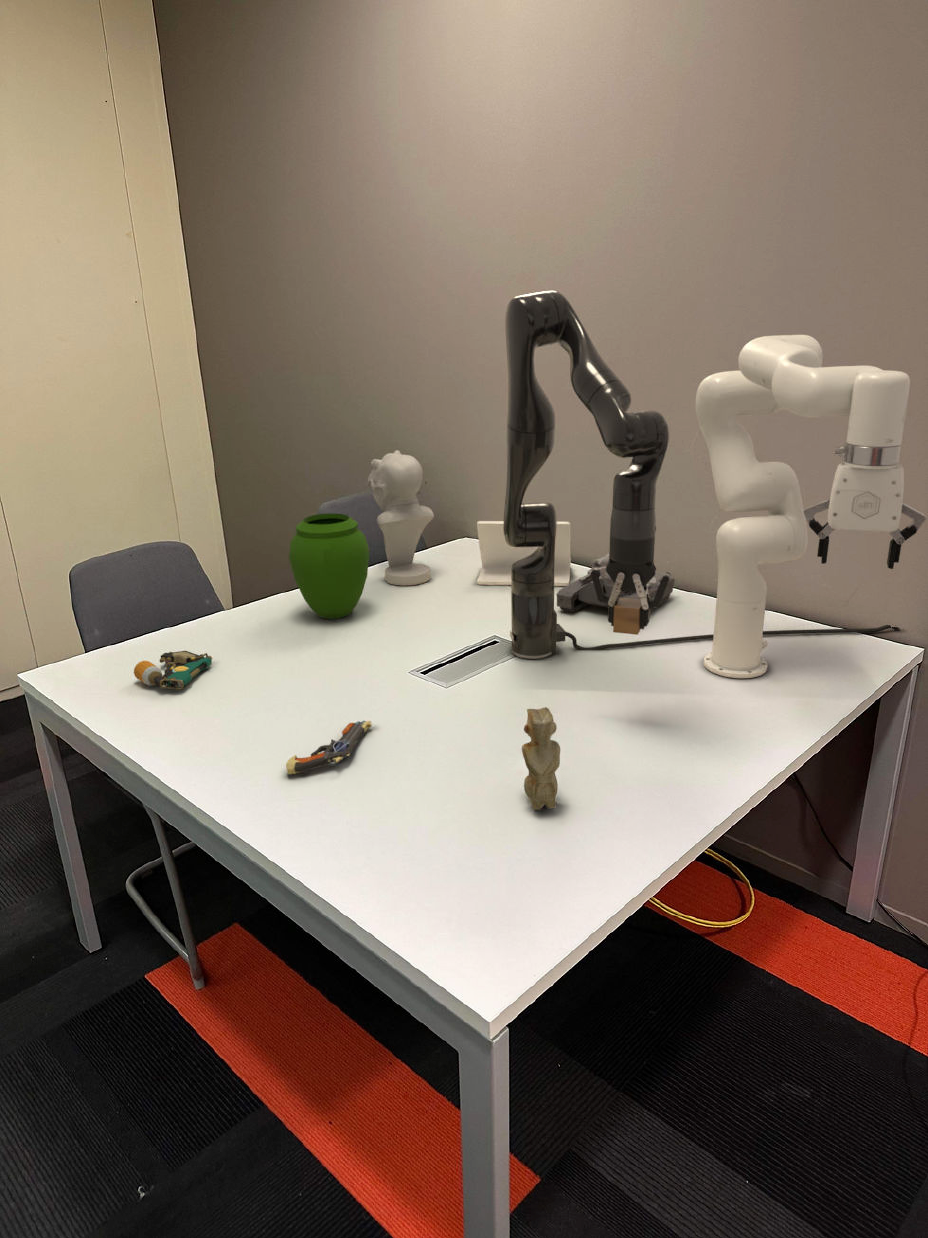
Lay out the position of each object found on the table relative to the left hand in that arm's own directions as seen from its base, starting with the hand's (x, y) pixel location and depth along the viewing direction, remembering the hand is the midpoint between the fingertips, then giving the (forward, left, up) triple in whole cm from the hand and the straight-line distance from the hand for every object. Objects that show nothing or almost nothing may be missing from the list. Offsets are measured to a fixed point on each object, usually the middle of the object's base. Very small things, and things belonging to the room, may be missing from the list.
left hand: (628, 625), depth 151 cm
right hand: (-31, +17, +14) cm, 38 cm away
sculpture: (+23, +23, -18) cm, 37 cm away
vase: (+49, -71, -18) cm, 88 cm away
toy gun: (+54, -1, -18) cm, 57 cm away
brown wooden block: (0, 0, -1) cm, 1 cm away
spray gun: (+84, -42, -18) cm, 95 cm away
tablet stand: (-5, -88, -18) cm, 90 cm away
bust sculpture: (+30, -97, -18) cm, 103 cm away
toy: (-21, -58, -18) cm, 65 cm away
